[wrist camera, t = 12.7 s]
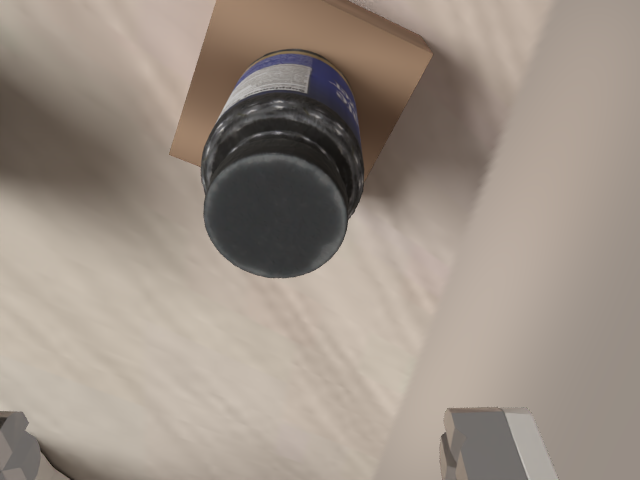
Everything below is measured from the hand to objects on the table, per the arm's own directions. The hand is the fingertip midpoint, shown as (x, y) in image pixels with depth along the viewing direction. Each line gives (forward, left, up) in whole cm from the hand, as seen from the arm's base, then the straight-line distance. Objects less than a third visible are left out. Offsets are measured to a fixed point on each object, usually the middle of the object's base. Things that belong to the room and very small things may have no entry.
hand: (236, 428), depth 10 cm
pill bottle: (0, 0, -19) cm, 19 cm away
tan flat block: (0, 0, -23) cm, 23 cm away
